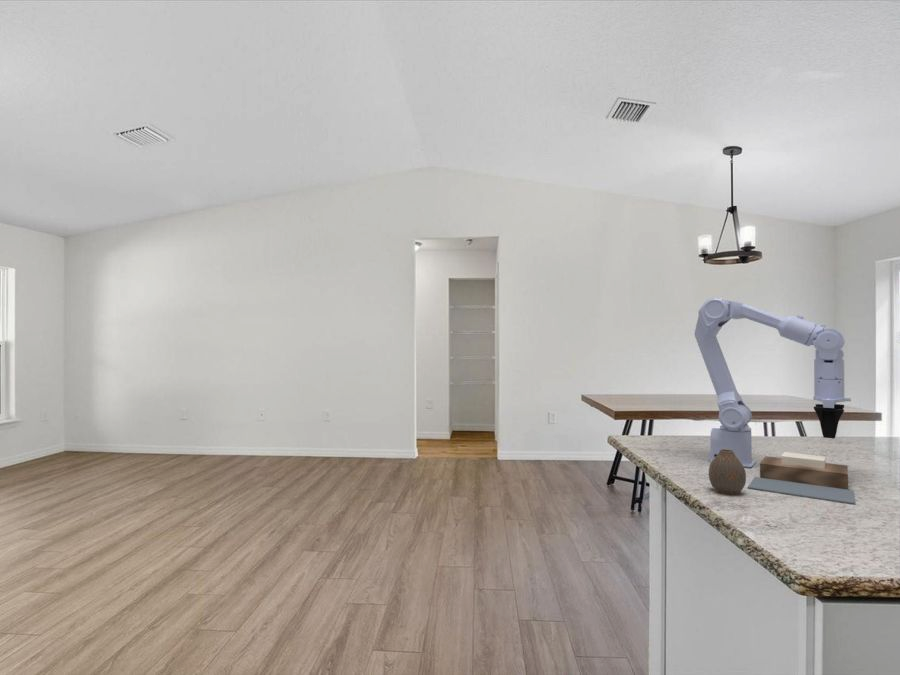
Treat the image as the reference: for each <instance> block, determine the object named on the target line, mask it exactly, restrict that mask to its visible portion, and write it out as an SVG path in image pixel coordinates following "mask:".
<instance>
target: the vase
mask: <svg viewBox="0 0 900 675" xmlns="http://www.w3.org/2000/svg"><path fill="white" fill-rule="evenodd" d="M708 479H709V481H710V485H711V486H712V488H713V489H714V490H715V491H716V492H718V493H721V494H725V495H738V494H740V493H741V492H742V491H743V489H744V488H745V485H746V481H747V474H746V469H745V467H743V465H742V463H741V462H740V461H739V459H738V458H737V457H736V456H735V454H734V452H733V451H732V450H728V449H721V450H720V452H719V453H718V455H717V456H716V457H715V458H714V459H713V460H712V462H710V464H709V468H708Z"/></svg>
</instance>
